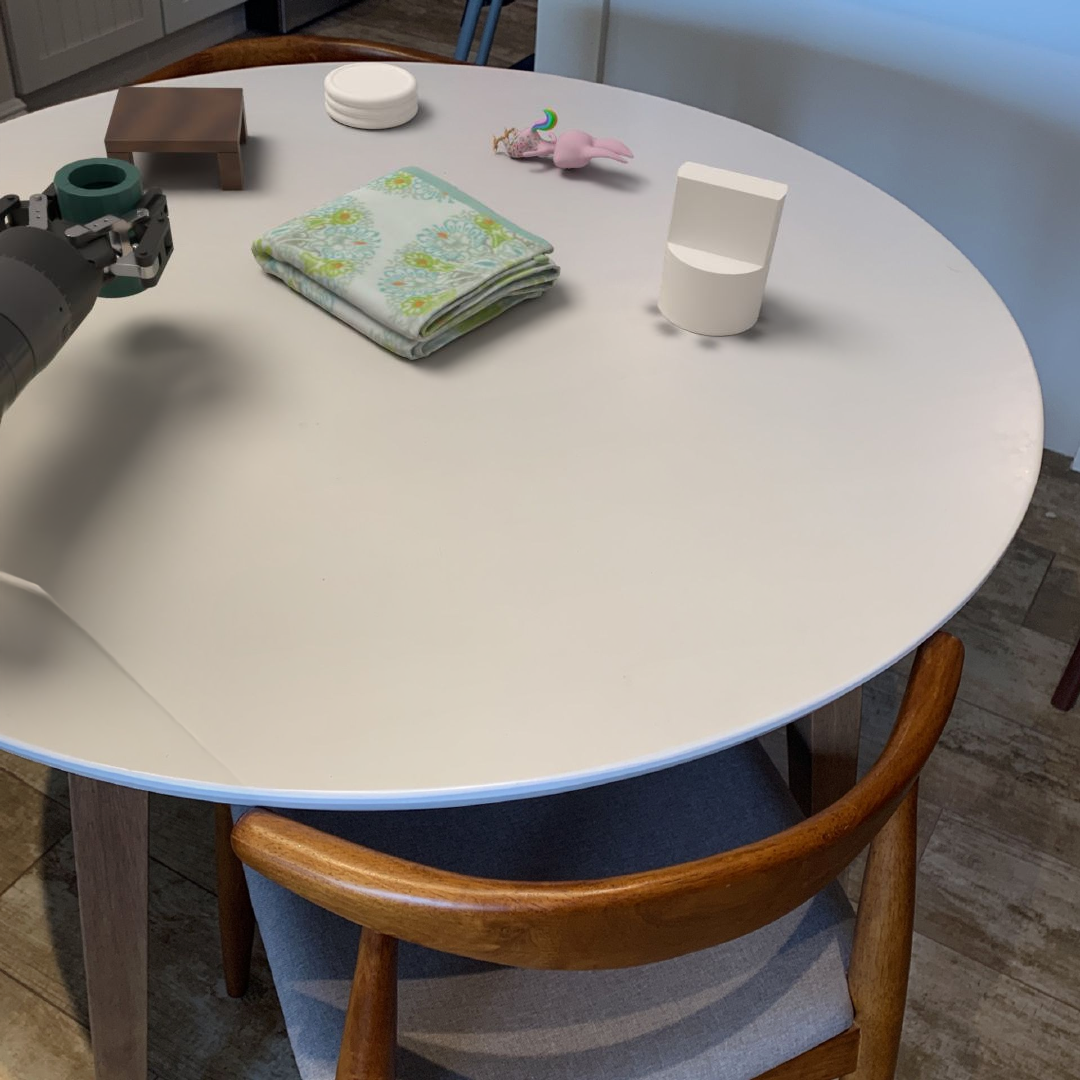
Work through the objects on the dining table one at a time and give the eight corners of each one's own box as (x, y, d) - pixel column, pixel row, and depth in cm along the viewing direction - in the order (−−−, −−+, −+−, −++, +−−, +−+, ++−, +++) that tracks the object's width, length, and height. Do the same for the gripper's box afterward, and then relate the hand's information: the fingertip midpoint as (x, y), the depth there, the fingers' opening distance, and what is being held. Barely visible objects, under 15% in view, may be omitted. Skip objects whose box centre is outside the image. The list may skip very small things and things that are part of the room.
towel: (416, 374, 94) (415, 319, 90) (250, 269, 104) (243, 216, 100) (567, 293, 104) (572, 241, 101) (403, 204, 114) (402, 154, 110)
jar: (71, 298, 90) (47, 195, 84) (82, 257, 94) (60, 157, 88) (152, 298, 91) (135, 196, 85) (160, 257, 95) (144, 157, 89)
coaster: (379, 139, 124) (378, 107, 121) (306, 112, 127) (304, 80, 125) (436, 109, 130) (436, 77, 127) (365, 84, 133) (364, 53, 131)
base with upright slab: (644, 319, 102) (663, 190, 94) (674, 271, 108) (694, 146, 100) (744, 346, 100) (773, 217, 92) (769, 295, 106) (798, 170, 98)
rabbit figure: (486, 171, 123) (618, 188, 117) (480, 114, 119) (615, 128, 113) (515, 149, 127) (643, 164, 121) (509, 93, 123) (641, 106, 117)
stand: (113, 190, 112) (103, 140, 109) (127, 134, 121) (118, 86, 117) (242, 190, 114) (237, 140, 110) (247, 135, 122) (242, 87, 119)
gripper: (109, 274, 75) (201, 158, 87) (-108, 242, 76) (13, 132, 88) (129, 371, 80) (213, 249, 92) (-75, 341, 81) (35, 223, 93)
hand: (115, 192), depth 90 cm, fingers closed on jar, 6 cm apart
